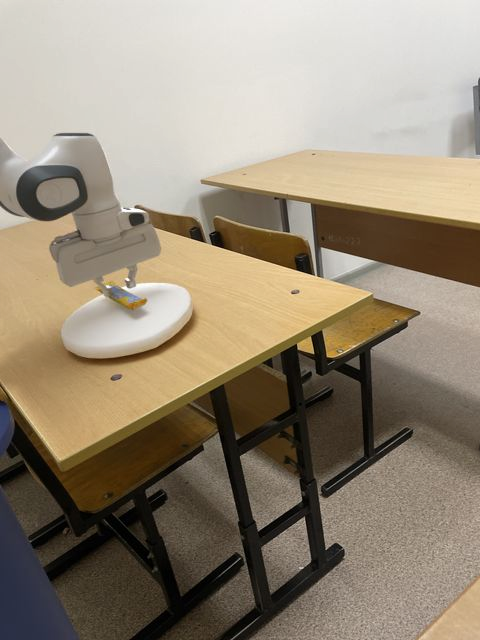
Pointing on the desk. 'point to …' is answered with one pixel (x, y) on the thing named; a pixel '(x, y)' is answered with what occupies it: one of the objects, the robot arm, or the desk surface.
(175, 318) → the plate
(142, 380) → the desk surface
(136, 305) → the candy bar
